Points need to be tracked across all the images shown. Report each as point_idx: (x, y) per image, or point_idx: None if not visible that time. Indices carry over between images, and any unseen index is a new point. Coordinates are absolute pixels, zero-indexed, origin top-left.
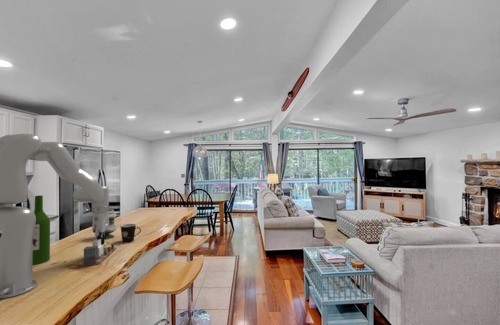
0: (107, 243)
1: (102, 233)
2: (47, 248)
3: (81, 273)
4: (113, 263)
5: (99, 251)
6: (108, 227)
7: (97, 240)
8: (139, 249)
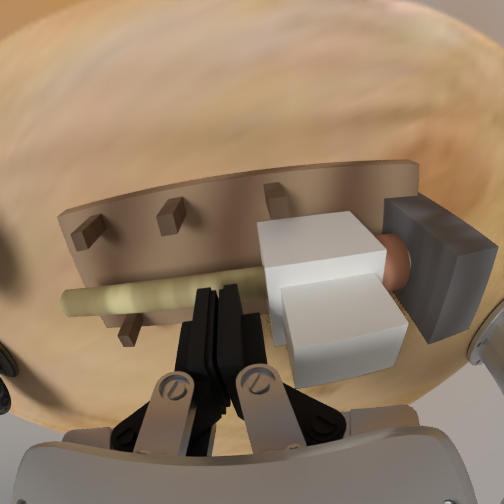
0: (90, 290)
1: (261, 425)
2: None
3: (488, 207)
4: (405, 67)
5: (367, 231)
6: (60, 465)
7: (357, 351)
8: (78, 7)
